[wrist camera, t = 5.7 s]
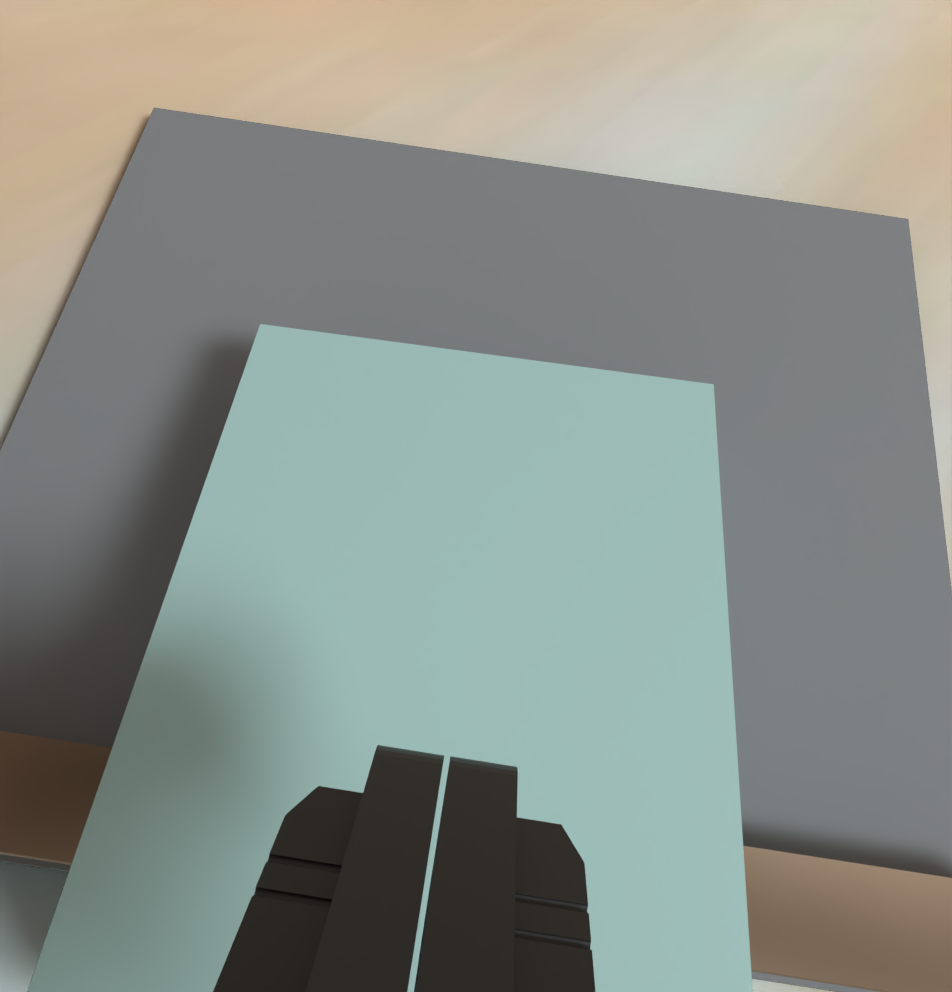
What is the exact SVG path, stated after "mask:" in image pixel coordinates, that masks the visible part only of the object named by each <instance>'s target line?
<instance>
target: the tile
mask: <svg viewBox="0 0 952 992" xmlns="http://www.w3.org/2000/svg"><path fill="white" fill-rule="evenodd" d="M377 745H382V746H388V747H394V748H401V749H407V750H413V751H419V752H426V753H432V754H438V755H444V761H443V767H442V774H441V780H440V786H439V793H438V799H437V806H436V812H435V819H434V825H433V831H432V838H431V844H430V851H429V857H428V863H427V870H426V876H425V883H424V889H423V895H422V902H421V908H420V915H419V921H418V927H417V934H416V940H415V946H414V953H413V959H412V965H411V972H410V978H409V984H408V991H407V992H414V987H415V980H416V974H417V967H418V960H419V954H420V947H421V940H422V934H423V927H424V920H425V914H426V907H427V901H428V894H429V888H430V882H431V875H432V869H433V863H434V856H435V850H436V844H437V837H438V831H439V825H440V818H441V812H442V806H443V799H444V793H445V787H446V780H447V774H448V768H449V762H450V756H452V757H459V758H465V759H471V760H478V761H484V762H490V763H496V764H503V765H509V766H515V767H517V769H518V786H517V817H518V818H524V819H530V820H537V821H543V822H549V823H555V824H561V825H562V826H563V828H564V830H565V831H566V833H567V835H568V836H569V838H570V840H571V841H572V843H573V845H574V846H575V848H576V849H577V851H578V853H579V854H580V856H581V858H582V859H583V861H584V863H585V875H586V886H587V898H588V909H587V913H589V921H590V933H591V945H590V950H592V957H593V968H594V980H595V992H753V990H752V975H751V959H750V944H749V928H748V912H747V897H746V881H745V865H744V850H743V834H742V819H741V803H740V787H739V772H738V756H737V741H736V725H735V709H734V694H733V678H732V662H731V647H730V631H729V616H728V600H727V584H726V569H725V553H724V537H723V522H722V506H721V491H720V475H719V459H718V444H717V428H716V413H715V397H714V384H708V383H700V382H692V381H685V380H677V379H670V378H662V377H655V376H647V375H640V374H632V373H625V372H617V371H610V370H602V369H595V368H587V367H580V366H572V365H565V364H557V363H550V362H542V361H535V360H527V359H520V358H512V357H505V356H497V355H490V354H482V353H475V352H467V351H460V350H452V349H445V348H437V347H430V346H422V345H415V344H407V343H400V342H392V341H384V340H377V339H369V338H362V337H354V336H347V335H339V334H332V333H324V332H317V331H309V330H302V329H294V328H287V327H279V326H272V325H264V324H260V326H259V329H258V332H257V335H256V337H255V340H254V343H253V346H252V349H251V352H250V355H249V358H248V360H247V363H246V366H245V369H244V372H243V375H242V378H241V380H240V383H239V386H238V389H237V392H236V395H235V398H234V401H233V403H232V406H231V409H230V412H229V415H228V418H227V421H226V423H225V426H224V429H223V432H222V435H221V438H220V441H219V444H218V446H217V449H216V452H215V455H214V458H213V461H212V464H211V466H210V469H209V472H208V475H207V478H206V481H205V484H204V486H203V489H202V492H201V495H200V498H199V501H198V504H197V507H196V509H195V512H194V515H193V518H192V521H191V524H190V527H189V529H188V532H187V535H186V538H185V541H184V544H183V547H182V550H181V552H180V555H179V558H178V561H177V564H176V567H175V570H174V572H173V575H172V578H171V581H170V584H169V587H168V590H167V593H166V595H165V598H164V601H163V604H162V607H161V610H160V613H159V615H158V618H157V621H156V624H155V627H154V630H153V633H152V636H151V638H150V641H149V644H148V647H147V650H146V653H145V656H144V658H143V661H142V664H141V667H140V670H139V673H138V676H137V678H136V681H135V684H134V687H133V690H132V693H131V696H130V699H129V701H128V704H127V707H126V710H125V713H124V716H123V719H122V721H121V724H120V727H119V730H118V733H117V736H116V739H115V742H114V744H113V747H112V750H111V753H110V756H109V759H108V762H107V764H106V767H105V770H104V773H103V776H102V779H101V782H100V785H99V787H98V790H97V793H96V796H95V799H94V802H93V805H92V807H91V810H90V813H89V816H88V819H87V822H86V825H85V828H84V830H83V833H82V836H81V839H80V842H79V845H78V848H77V850H76V853H75V856H74V859H73V862H72V865H71V868H70V870H69V873H68V876H67V879H66V882H65V885H64V888H63V891H62V893H61V896H60V899H59V902H58V905H57V908H56V911H55V913H54V916H53V919H52V922H51V925H50V928H49V931H48V934H47V936H46V939H45V942H44V945H43V948H42V951H41V954H40V956H39V959H38V962H37V965H36V968H35V971H34V974H33V977H32V979H31V982H30V985H29V988H28V991H27V992H213V990H214V988H215V985H216V983H217V980H218V978H219V976H220V973H221V971H222V968H223V966H224V963H225V961H226V958H227V956H228V954H229V951H230V949H231V946H232V944H233V941H234V939H235V936H236V934H237V932H238V929H239V927H240V924H241V922H242V919H243V917H244V914H245V912H246V910H247V907H248V905H249V902H250V900H251V897H252V896H254V893H255V889H256V885H257V883H258V880H259V878H260V875H261V873H262V870H263V868H264V866H265V863H266V862H268V858H269V853H270V851H271V848H272V846H273V844H274V841H275V839H276V836H277V834H278V831H279V829H280V826H281V824H282V822H283V819H284V817H285V815H286V814H287V813H288V812H289V811H290V810H291V809H293V808H294V807H295V806H296V805H297V804H298V803H299V802H301V801H302V800H303V799H304V798H305V797H306V796H307V795H309V794H310V793H311V792H312V791H313V790H314V789H315V788H317V787H318V786H322V787H329V788H335V789H341V790H347V791H354V792H360V793H363V792H364V788H365V785H366V781H367V778H368V774H369V771H370V767H371V764H372V760H373V757H374V754H375V750H376V748H377Z"/></svg>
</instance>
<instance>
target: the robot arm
mask: <svg viewBox="0 0 952 992" xmlns="http://www.w3.org/2000/svg"><path fill="white" fill-rule="evenodd" d="M443 761H444V755H438V754H432V753H426V752H419V751H413V750H407V749H401V748H394V747H388V746H382V745H377V748H376V750H375V754H374V757H373V760H372V764H371V767H370V771H369V774H368V778H367V781H366V785H365V788H364V792H363V793H360V792H354V791H347V790H341V789H335V788H329V787H322V786H318V787H317V788H315V789H314V790H313V791H312V792H311V793H310V794H309V795H307V796H306V797H305V798H304V799H303V800H302V801H301V802H299V803H298V804H297V805H296V806H295V807H294V808H293V809H291V810H290V811H289V812H288V813H287V814H286V815H285V817H284V819H283V822H282V824H281V826H280V829H279V831H278V834H277V836H276V839H275V841H274V844H273V846H272V848H271V851H270V853H269V858H268V862H266V863H265V866H264V868H263V870H262V873H261V875H260V878H259V880H258V883H257V885H256V889H255V893H254V896H252V897H251V900H250V902H249V905H248V907H247V910H246V912H245V914H244V917H243V919H242V922H241V924H240V927H239V929H238V932H237V934H236V936H235V939H234V941H233V944H232V946H231V949H230V951H229V954H228V956H227V958H226V961H225V963H224V966H223V968H222V971H221V973H220V976H219V978H218V980H217V983H216V985H215V988H214V990H213V992H407V991H408V984H409V978H410V972H411V965H412V959H413V953H414V946H415V940H416V934H417V927H418V921H419V915H420V908H421V902H422V895H423V889H424V883H425V876H426V870H427V863H428V857H429V851H430V844H431V838H432V831H433V825H434V819H435V812H436V806H437V799H438V793H439V786H440V780H441V774H442V767H443ZM517 786H518V769H517V767H515V766H509V765H503V764H496V763H490V762H484V761H478V760H471V759H465V758H459V757H452V756H450V762H449V768H448V774H447V780H446V787H445V793H444V799H443V806H442V812H441V818H440V825H439V831H438V837H437V844H436V850H435V856H434V863H433V869H432V875H431V882H430V888H429V894H428V901H427V907H426V914H425V920H424V927H423V934H422V940H421V947H420V954H419V960H418V967H417V974H416V980H415V987H414V992H595V980H594V968H593V957H592V950H590V945H591V933H590V921H589V913H587V909H588V898H587V886H586V875H585V863H584V861H583V859H582V858H581V856H580V854H579V853H578V851H577V849H576V848H575V846H574V845H573V843H572V841H571V840H570V838H569V836H568V835H567V833H566V831H565V830H564V828H563V826H562V825H561V824H555V823H549V822H543V821H537V820H530V819H524V818H518V817H517Z"/></svg>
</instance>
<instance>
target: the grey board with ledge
mask: <svg viewBox="0 0 952 992" xmlns="http://www.w3.org/2000/svg"><path fill="white" fill-rule="evenodd" d="M260 324H264V325H272V326H279V327H287V328H294V329H302V330H309V331H317V332H324V333H332V334H339V335H347V336H354V337H362V338H369V339H377V340H384V341H392V342H400V343H407V344H415V345H422V346H430V347H437V348H445V349H452V350H460V351H467V352H475V353H482V354H490V355H497V356H505V357H512V358H520V359H527V360H535V361H542V362H550V363H557V364H565V365H572V366H580V367H587V368H595V369H602V370H610V371H617V372H625V373H632V374H640V375H647V376H655V377H662V378H670V379H677V380H685V381H692V382H700V383H708V384H714V397H715V413H716V428H717V444H718V459H719V475H720V491H721V506H722V522H723V537H724V553H725V569H726V584H727V600H728V616H729V631H730V647H731V662H732V678H733V694H734V709H735V725H736V741H737V756H738V772H739V787H740V803H741V819H742V834H743V850H744V865H745V881H746V897H747V912H748V928H749V944H750V959H751V975H752V979H758V980H765V981H771V982H777V983H784V984H790V985H797V986H803V987H809V988H816V989H822V990H829V991H835V992H952V590H951V581H950V573H949V564H948V556H947V547H946V538H945V530H944V521H943V513H942V504H941V496H940V487H939V478H938V470H937V461H936V453H935V444H934V436H933V427H932V418H931V410H930V401H929V393H928V384H927V376H926V367H925V358H924V350H923V341H922V333H921V324H920V316H919V307H918V298H917V290H916V281H915V273H914V264H913V256H912V247H911V238H910V230H909V221H908V219H904V218H897V217H891V216H884V215H877V214H870V213H864V212H857V211H850V210H843V209H836V208H830V207H823V206H816V205H809V204H803V203H796V202H789V201H782V200H776V199H769V198H762V197H755V196H748V195H742V194H735V193H728V192H721V191H715V190H708V189H701V188H694V187H688V186H681V185H674V184H667V183H660V182H654V181H647V180H640V179H633V178H627V177H620V176H613V175H606V174H599V173H593V172H586V171H579V170H572V169H566V168H559V167H552V166H545V165H539V164H532V163H525V162H518V161H511V160H505V159H498V158H491V157H484V156H478V155H471V154H464V153H457V152H451V151H444V150H437V149H430V148H423V147H417V146H410V145H403V144H396V143H390V142H383V141H376V140H369V139H363V138H356V137H349V136H342V135H335V134H329V133H322V132H315V131H308V130H302V129H295V128H288V127H281V126H275V125H268V124H261V123H254V122H247V121H241V120H234V119H227V118H220V117H214V116H207V115H200V114H193V113H187V112H180V111H173V110H166V109H159V108H154V109H153V111H152V113H151V115H150V118H149V120H148V122H147V124H146V126H145V129H144V131H143V133H142V135H141V138H140V140H139V142H138V144H137V147H136V149H135V151H134V153H133V155H132V158H131V160H130V162H129V164H128V167H127V169H126V171H125V173H124V176H123V178H122V180H121V182H120V184H119V187H118V189H117V191H116V193H115V196H114V198H113V200H112V202H111V205H110V207H109V209H108V211H107V213H106V216H105V218H104V220H103V222H102V225H101V227H100V229H99V231H98V234H97V236H96V238H95V240H94V242H93V245H92V247H91V249H90V251H89V254H88V256H87V258H86V260H85V263H84V265H83V267H82V269H81V271H80V274H79V276H78V278H77V280H76V283H75V285H74V287H73V289H72V292H71V294H70V296H69V298H68V300H67V303H66V305H65V307H64V309H63V312H62V314H61V316H60V318H59V321H58V323H57V325H56V327H55V329H54V332H53V334H52V336H51V338H50V341H49V343H48V345H47V347H46V350H45V352H44V354H43V356H42V358H41V361H40V363H39V365H38V367H37V370H36V372H35V374H34V376H33V379H32V381H31V383H30V385H29V387H28V390H27V392H26V394H25V396H24V399H23V401H22V403H21V405H20V408H19V410H18V412H17V414H16V416H15V419H14V421H13V423H12V425H11V428H10V430H9V432H8V434H7V437H6V439H5V441H4V443H3V445H2V448H1V450H0V861H3V862H9V863H16V864H22V865H28V866H35V867H41V868H48V869H54V870H60V871H67V872H69V870H70V868H71V865H72V862H73V859H74V856H75V853H76V850H77V848H78V845H79V842H80V839H81V836H82V833H83V830H84V828H85V825H86V822H87V819H88V816H89V813H90V810H91V807H92V805H93V802H94V799H95V796H96V793H97V790H98V787H99V785H100V782H101V779H102V776H103V773H104V770H105V767H106V764H107V762H108V759H109V756H110V753H111V750H112V747H113V744H114V742H115V739H116V736H117V733H118V730H119V727H120V724H121V721H122V719H123V716H124V713H125V710H126V707H127V704H128V701H129V699H130V696H131V693H132V690H133V687H134V684H135V681H136V678H137V676H138V673H139V670H140V667H141V664H142V661H143V658H144V656H145V653H146V650H147V647H148V644H149V641H150V638H151V636H152V633H153V630H154V627H155V624H156V621H157V618H158V615H159V613H160V610H161V607H162V604H163V601H164V598H165V595H166V593H167V590H168V587H169V584H170V581H171V578H172V575H173V572H174V570H175V567H176V564H177V561H178V558H179V555H180V552H181V550H182V547H183V544H184V541H185V538H186V535H187V532H188V529H189V527H190V524H191V521H192V518H193V515H194V512H195V509H196V507H197V504H198V501H199V498H200V495H201V492H202V489H203V486H204V484H205V481H206V478H207V475H208V472H209V469H210V466H211V464H212V461H213V458H214V455H215V452H216V449H217V446H218V444H219V441H220V438H221V435H222V432H223V429H224V426H225V423H226V421H227V418H228V415H229V412H230V409H231V406H232V403H233V401H234V398H235V395H236V392H237V389H238V386H239V383H240V380H241V378H242V375H243V372H244V369H245V366H246V363H247V360H248V358H249V355H250V352H251V349H252V346H253V343H254V340H255V337H256V335H257V332H258V329H259V326H260Z"/></svg>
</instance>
